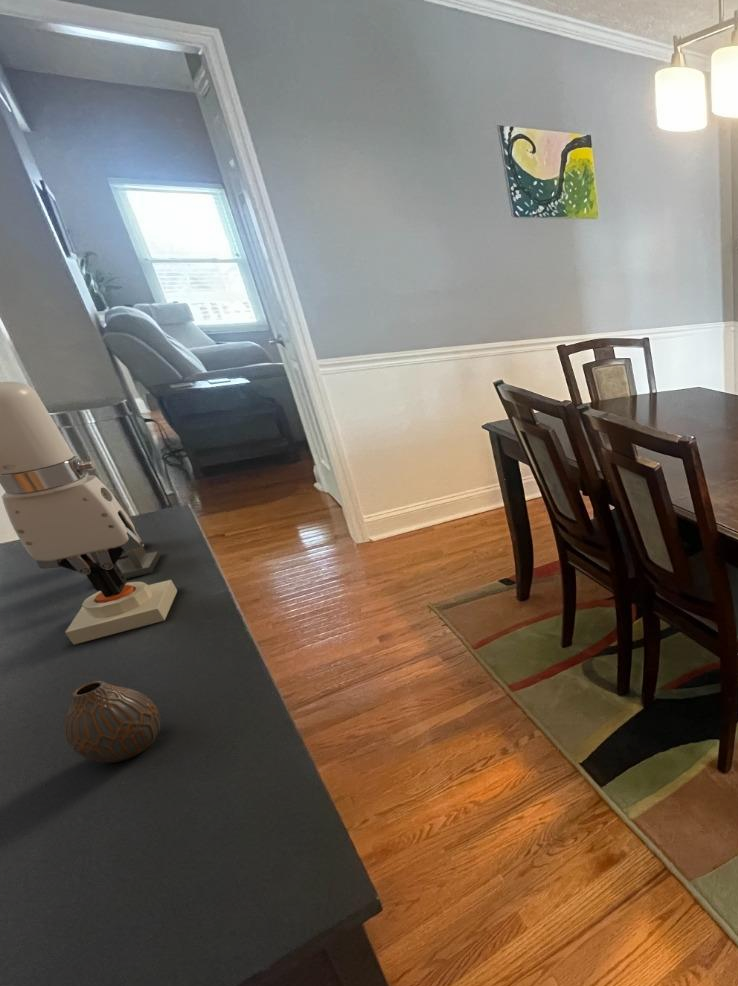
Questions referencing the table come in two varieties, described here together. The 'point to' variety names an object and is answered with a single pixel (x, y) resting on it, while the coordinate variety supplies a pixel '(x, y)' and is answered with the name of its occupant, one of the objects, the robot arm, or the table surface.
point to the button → (126, 591)
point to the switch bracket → (136, 562)
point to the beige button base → (122, 611)
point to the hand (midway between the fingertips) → (115, 591)
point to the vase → (110, 722)
